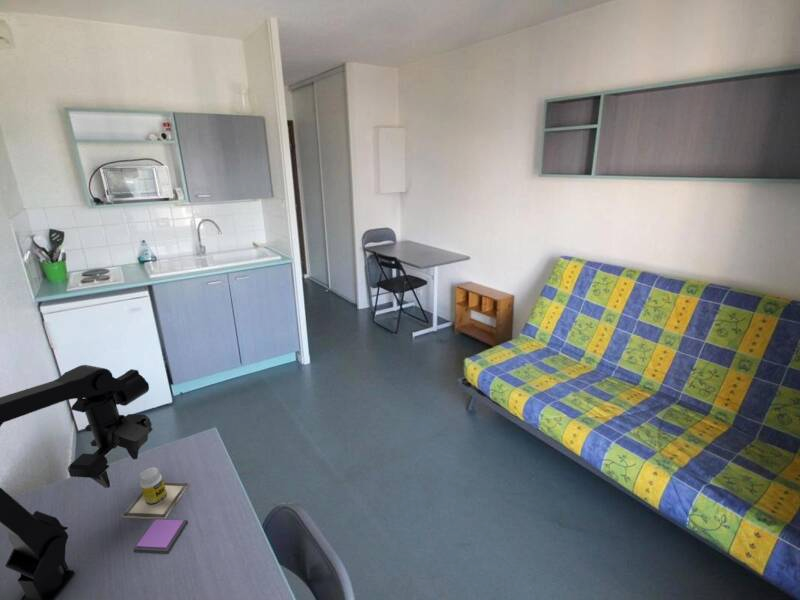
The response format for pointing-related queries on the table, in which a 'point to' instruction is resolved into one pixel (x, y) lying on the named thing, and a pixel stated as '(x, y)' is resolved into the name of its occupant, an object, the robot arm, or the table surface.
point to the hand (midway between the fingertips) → (121, 472)
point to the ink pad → (160, 536)
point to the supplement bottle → (153, 487)
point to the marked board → (159, 511)
